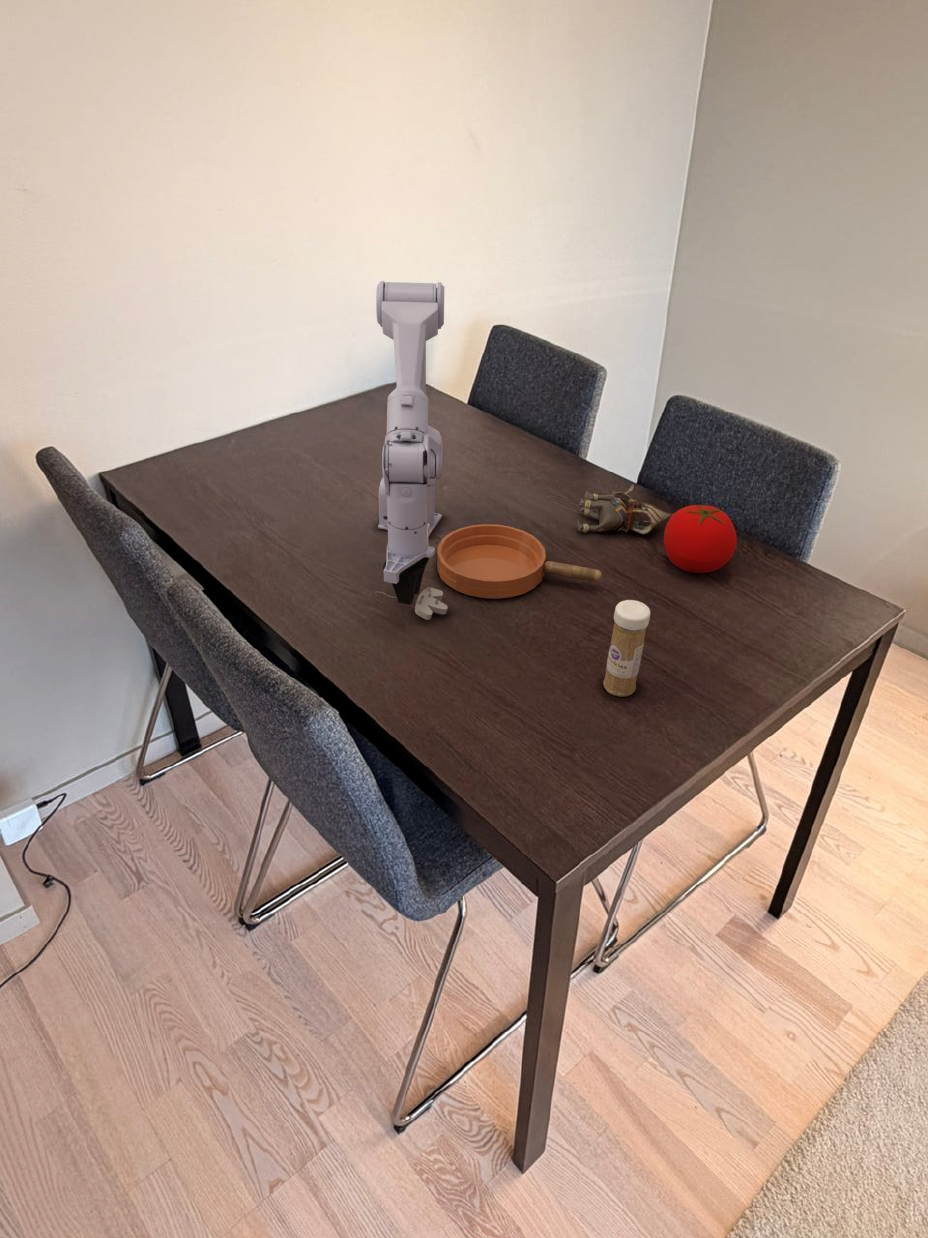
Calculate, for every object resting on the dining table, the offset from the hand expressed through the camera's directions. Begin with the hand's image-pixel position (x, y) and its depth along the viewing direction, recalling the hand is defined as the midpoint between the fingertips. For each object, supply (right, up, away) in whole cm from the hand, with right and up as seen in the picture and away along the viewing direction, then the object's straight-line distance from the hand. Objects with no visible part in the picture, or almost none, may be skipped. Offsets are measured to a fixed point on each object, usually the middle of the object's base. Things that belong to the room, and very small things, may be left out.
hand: (408, 597), depth 133 cm
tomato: (+47, +6, +14) cm, 50 cm away
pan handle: (+26, +4, +7) cm, 27 cm away
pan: (+13, +5, +11) cm, 18 cm away
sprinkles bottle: (+30, -13, -12) cm, 35 cm away
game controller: (0, -1, +1) cm, 2 cm away
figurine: (+38, +13, +24) cm, 46 cm away
